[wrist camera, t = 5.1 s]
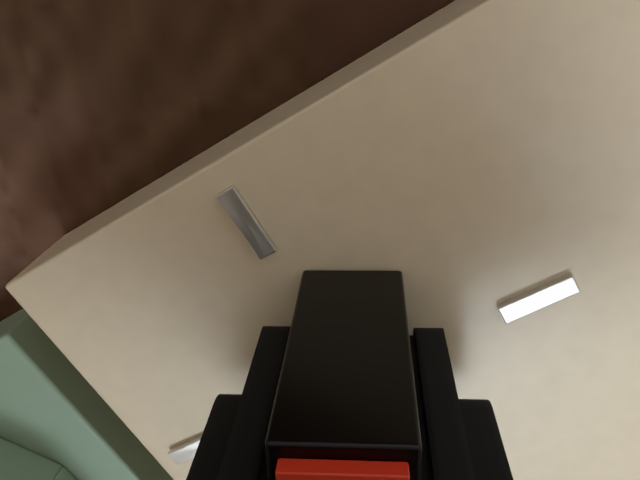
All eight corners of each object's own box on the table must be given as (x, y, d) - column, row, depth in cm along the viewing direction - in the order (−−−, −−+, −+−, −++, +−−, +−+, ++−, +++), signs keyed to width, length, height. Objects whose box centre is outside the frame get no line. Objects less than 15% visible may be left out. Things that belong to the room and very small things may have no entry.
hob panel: (307, 537, 17) (297, 630, 15) (63, 235, 14) (-3, 291, 11) (782, 366, 14) (871, 450, 11) (616, -97, 10) (692, -120, 8)
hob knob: (397, 470, 13) (412, 722, 8) (313, 468, 13) (285, 713, 8) (401, 268, 11) (424, 464, 6) (302, 269, 11) (259, 458, 6)
